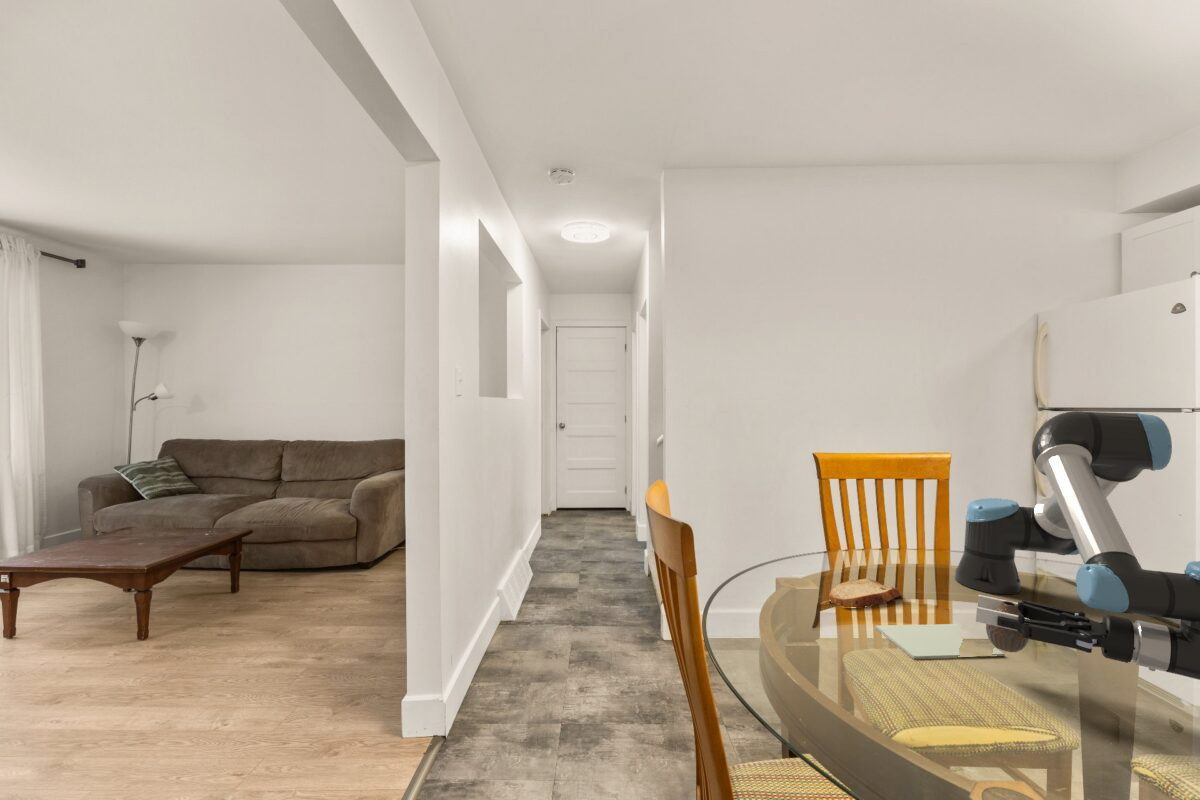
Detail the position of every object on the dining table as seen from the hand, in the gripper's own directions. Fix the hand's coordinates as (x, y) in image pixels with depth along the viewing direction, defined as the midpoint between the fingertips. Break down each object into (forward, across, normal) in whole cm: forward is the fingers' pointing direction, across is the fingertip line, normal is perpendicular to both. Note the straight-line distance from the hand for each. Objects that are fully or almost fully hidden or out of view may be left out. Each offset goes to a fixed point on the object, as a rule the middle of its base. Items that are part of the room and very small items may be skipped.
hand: (977, 607), depth 118 cm
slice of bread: (+25, +24, -13) cm, 37 cm away
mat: (+7, +8, -12) cm, 16 cm away
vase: (-5, 0, -7) cm, 8 cm away
